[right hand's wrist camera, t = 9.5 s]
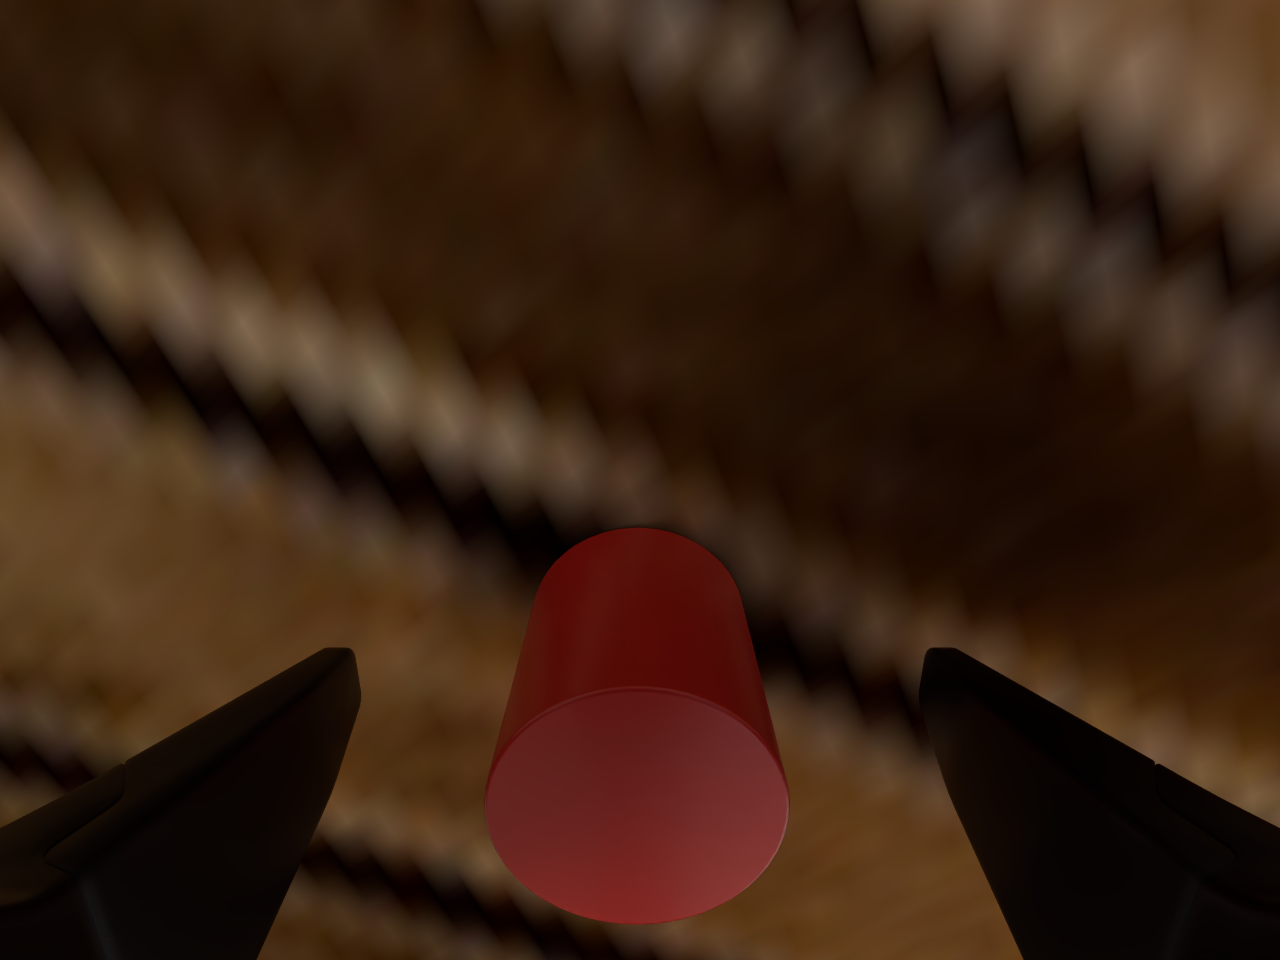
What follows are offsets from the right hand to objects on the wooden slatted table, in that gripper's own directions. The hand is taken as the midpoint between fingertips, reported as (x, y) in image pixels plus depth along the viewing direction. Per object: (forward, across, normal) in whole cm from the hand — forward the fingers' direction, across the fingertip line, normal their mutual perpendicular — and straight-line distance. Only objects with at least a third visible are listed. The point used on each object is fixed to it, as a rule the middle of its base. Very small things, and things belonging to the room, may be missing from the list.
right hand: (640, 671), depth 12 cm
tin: (+1, 0, 0) cm, 1 cm away
